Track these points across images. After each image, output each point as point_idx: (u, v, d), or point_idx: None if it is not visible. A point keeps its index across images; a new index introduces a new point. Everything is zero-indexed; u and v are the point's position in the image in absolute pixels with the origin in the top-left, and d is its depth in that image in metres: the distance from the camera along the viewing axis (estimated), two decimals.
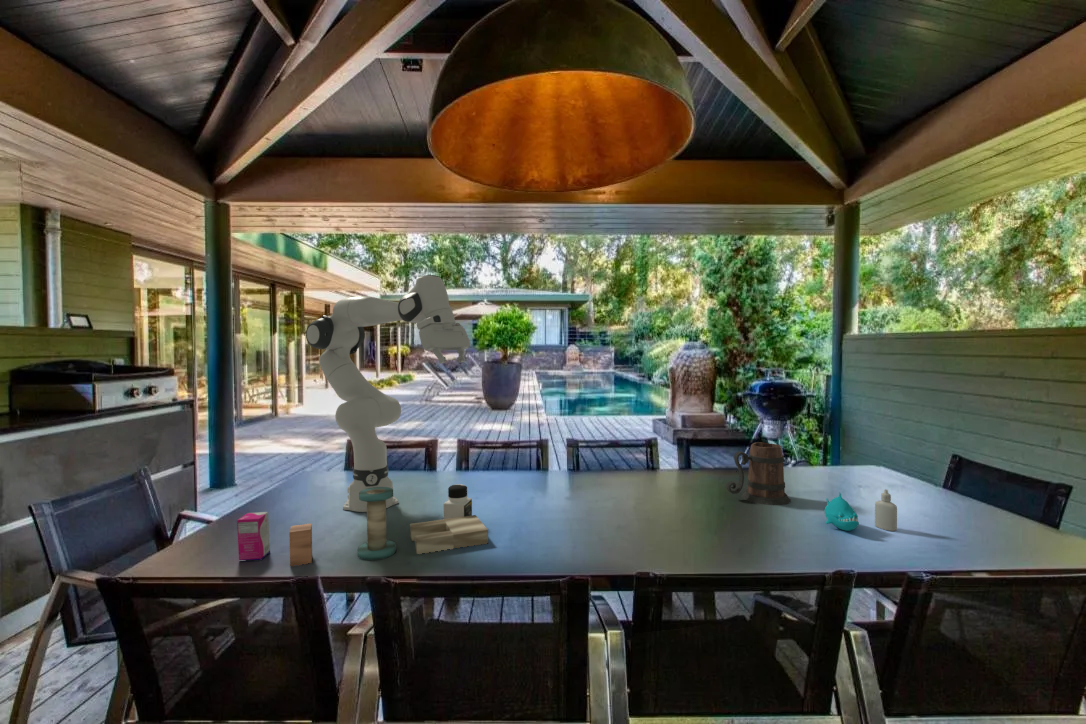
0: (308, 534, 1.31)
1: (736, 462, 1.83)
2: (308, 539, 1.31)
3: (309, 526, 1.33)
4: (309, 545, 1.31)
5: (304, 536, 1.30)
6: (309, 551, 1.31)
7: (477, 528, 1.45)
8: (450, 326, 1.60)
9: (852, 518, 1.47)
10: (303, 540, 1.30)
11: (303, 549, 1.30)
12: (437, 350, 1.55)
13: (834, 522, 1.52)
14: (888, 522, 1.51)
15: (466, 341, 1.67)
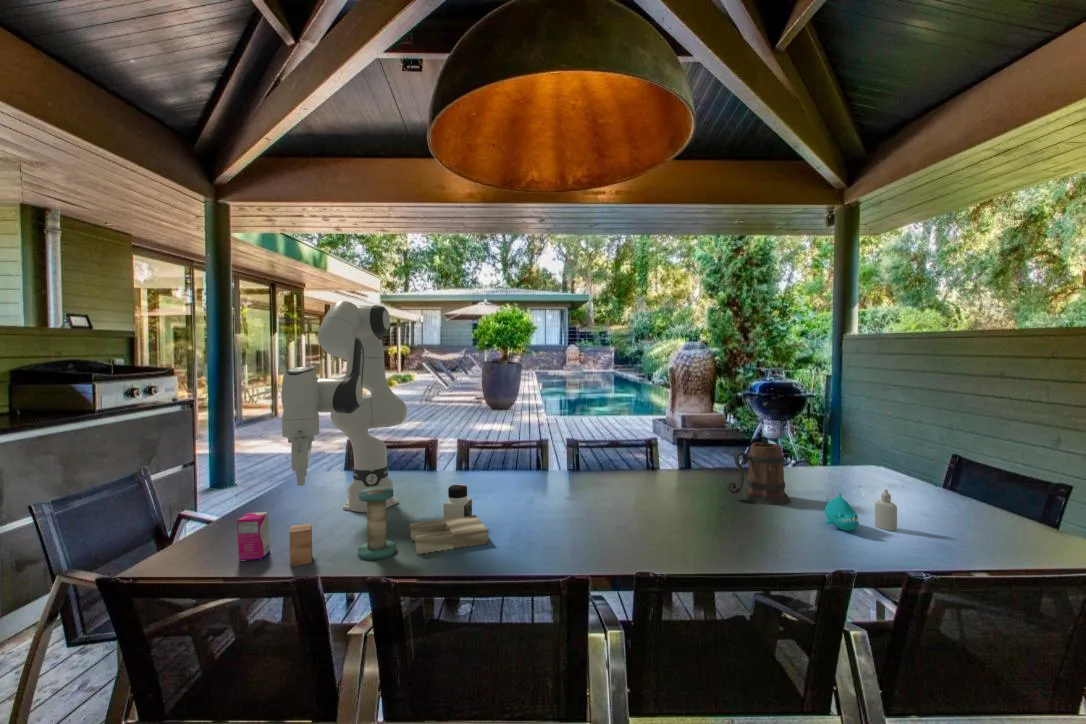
0: (308, 534, 1.31)
1: (736, 462, 1.83)
2: (308, 539, 1.31)
3: (309, 526, 1.33)
4: (309, 545, 1.31)
5: (304, 536, 1.30)
6: (309, 551, 1.31)
7: (477, 528, 1.45)
8: None
9: (852, 518, 1.47)
10: (303, 540, 1.30)
11: (303, 549, 1.30)
12: None
13: (834, 522, 1.52)
14: (888, 522, 1.51)
15: None
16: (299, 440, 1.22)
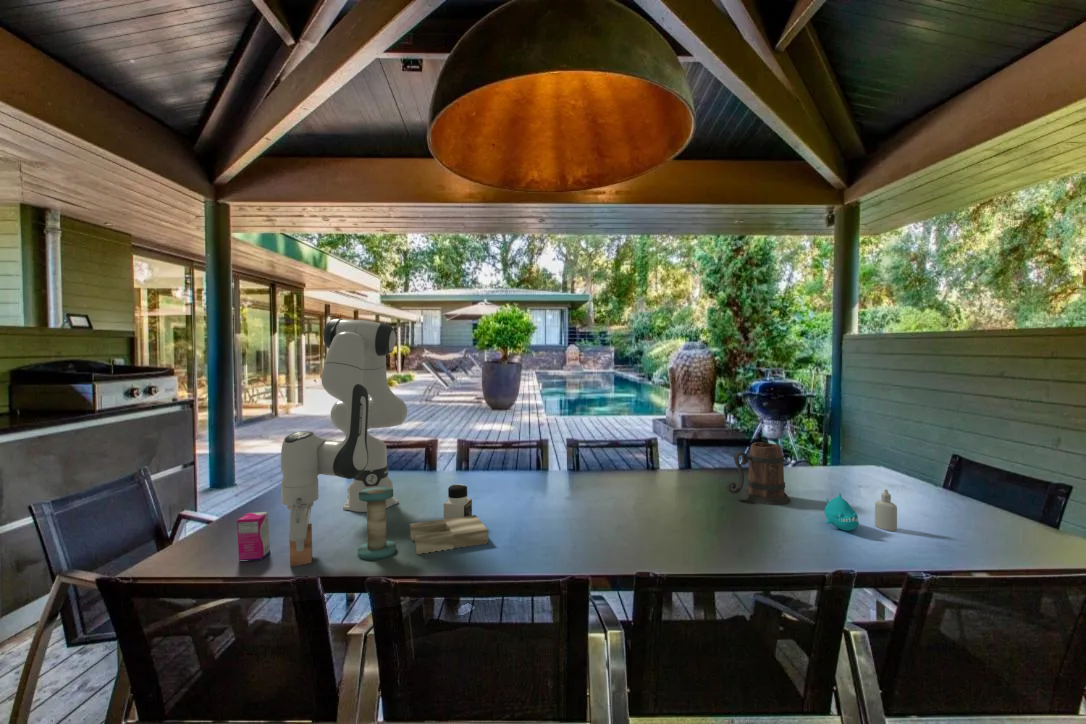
0: (308, 534, 1.31)
1: (736, 462, 1.83)
2: (308, 539, 1.31)
3: (309, 526, 1.33)
4: (309, 545, 1.31)
5: None
6: (309, 551, 1.31)
7: (477, 528, 1.45)
8: (287, 505, 1.31)
9: (852, 518, 1.47)
10: None
11: None
12: None
13: (834, 522, 1.52)
14: (888, 522, 1.51)
15: None
16: (297, 511, 1.23)
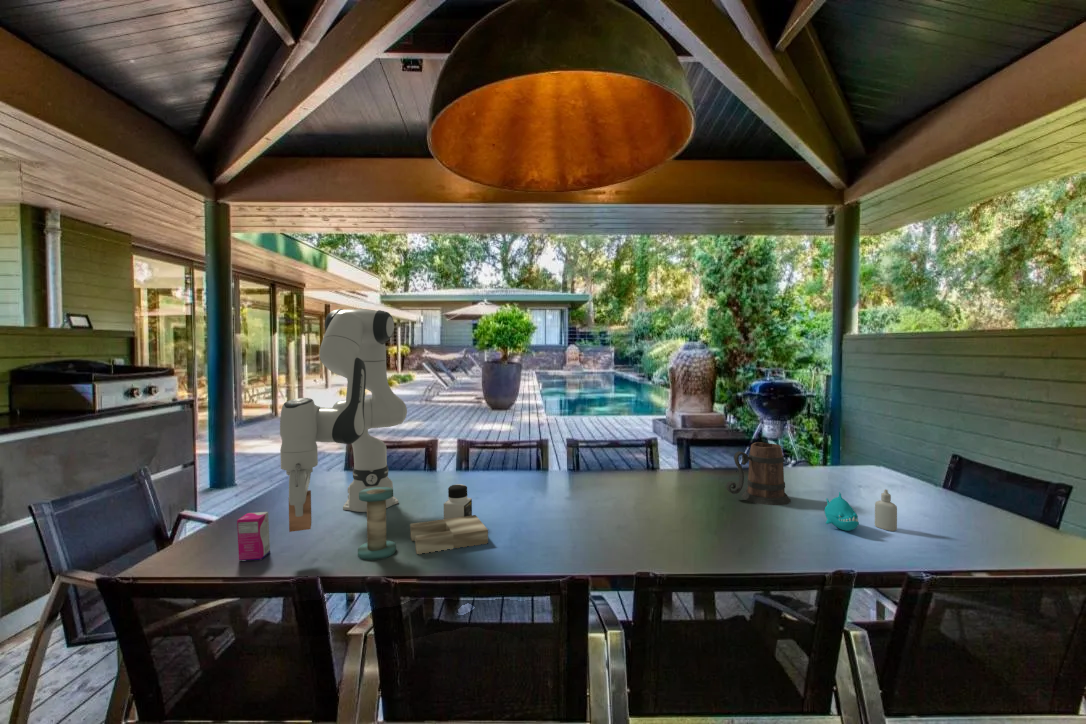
0: (307, 500, 1.31)
1: (736, 462, 1.83)
2: (308, 505, 1.31)
3: (308, 492, 1.33)
4: (308, 511, 1.31)
5: None
6: (308, 517, 1.31)
7: (477, 528, 1.45)
8: (286, 471, 1.31)
9: (852, 518, 1.47)
10: None
11: None
12: None
13: (834, 522, 1.52)
14: (888, 522, 1.51)
15: None
16: (296, 475, 1.23)
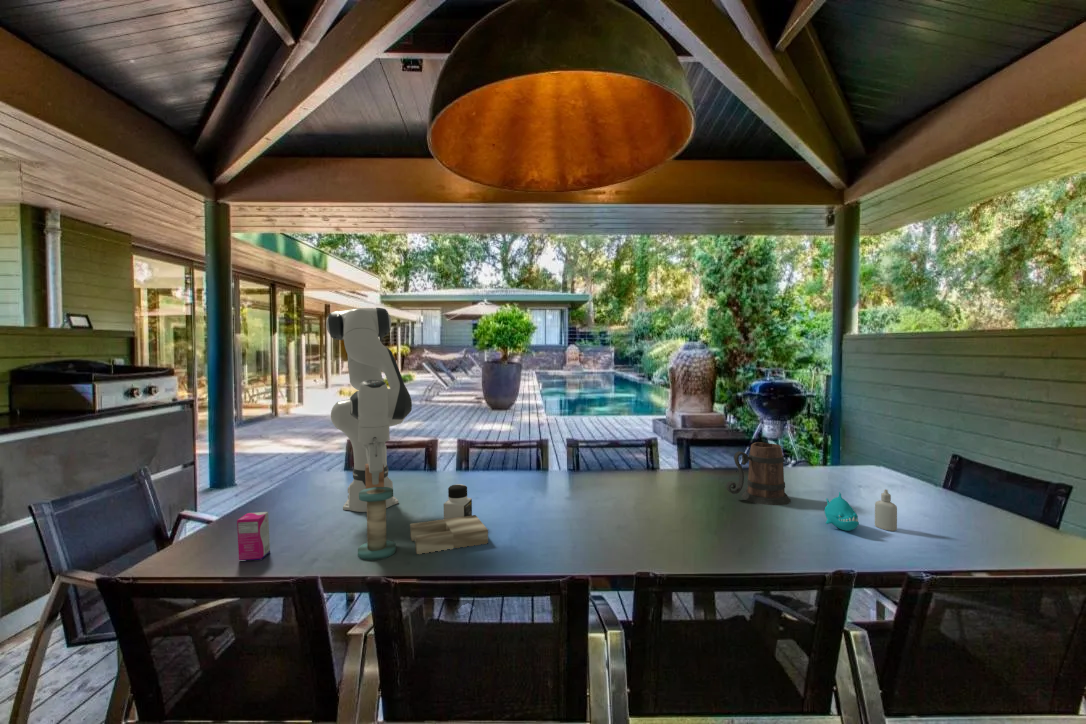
0: None
1: (736, 462, 1.83)
2: (382, 475, 1.47)
3: None
4: (382, 480, 1.47)
5: None
6: (382, 485, 1.47)
7: (477, 528, 1.45)
8: (363, 444, 1.47)
9: (852, 518, 1.47)
10: None
11: None
12: None
13: (834, 522, 1.52)
14: (888, 522, 1.51)
15: None
16: (376, 446, 1.39)
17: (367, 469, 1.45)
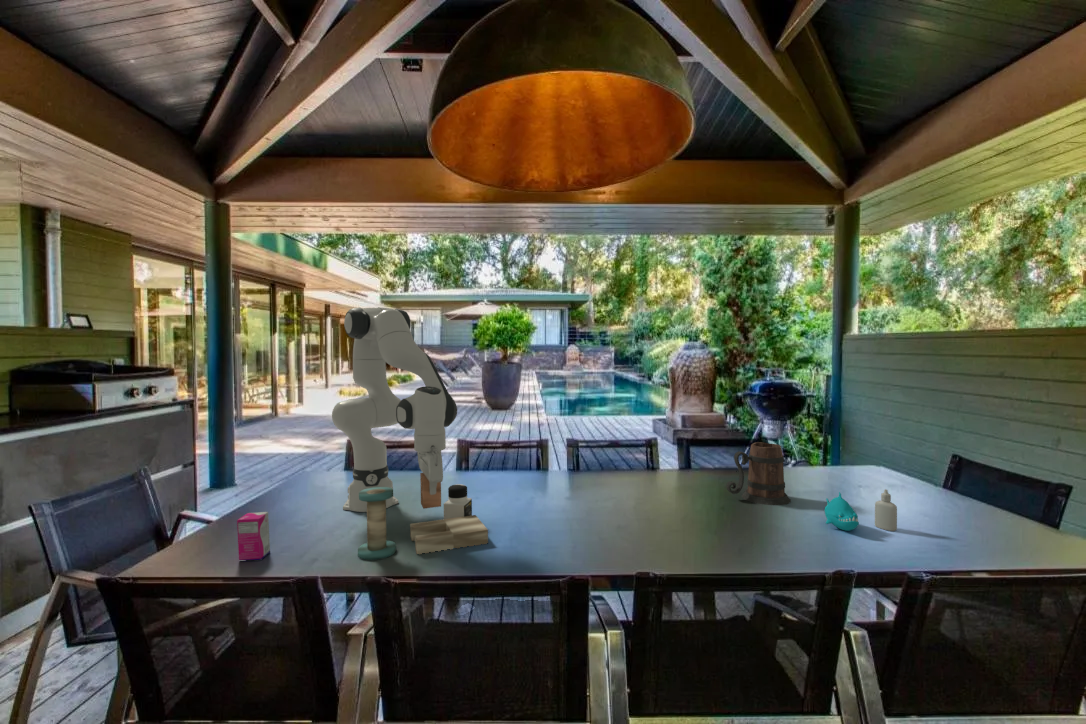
0: None
1: (736, 462, 1.83)
2: (439, 484, 1.43)
3: None
4: (439, 489, 1.43)
5: None
6: (439, 495, 1.43)
7: (477, 528, 1.45)
8: (419, 453, 1.43)
9: (852, 518, 1.47)
10: None
11: None
12: None
13: (834, 522, 1.52)
14: (888, 522, 1.51)
15: (428, 475, 1.36)
16: (436, 455, 1.34)
17: (424, 478, 1.41)
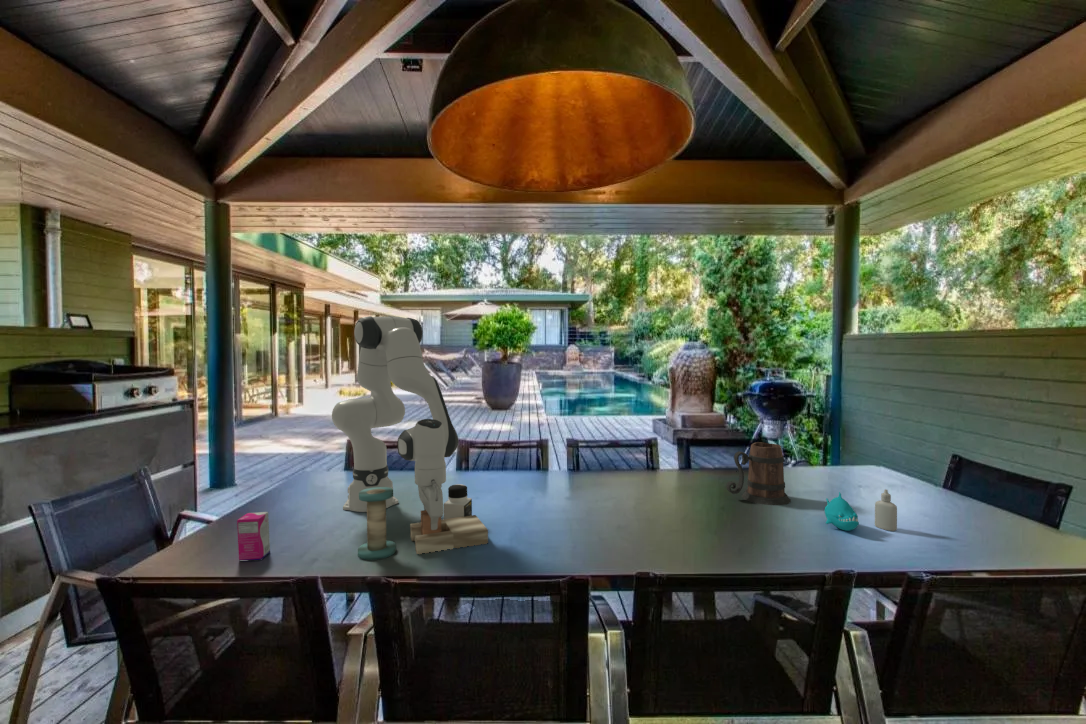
0: (439, 518, 1.43)
1: (736, 462, 1.83)
2: (439, 523, 1.43)
3: None
4: (440, 528, 1.43)
5: None
6: None
7: (477, 528, 1.45)
8: (419, 486, 1.43)
9: (852, 518, 1.47)
10: None
11: (434, 532, 1.42)
12: None
13: (834, 522, 1.52)
14: (888, 522, 1.51)
15: (429, 510, 1.36)
16: (437, 490, 1.35)
17: (425, 517, 1.41)
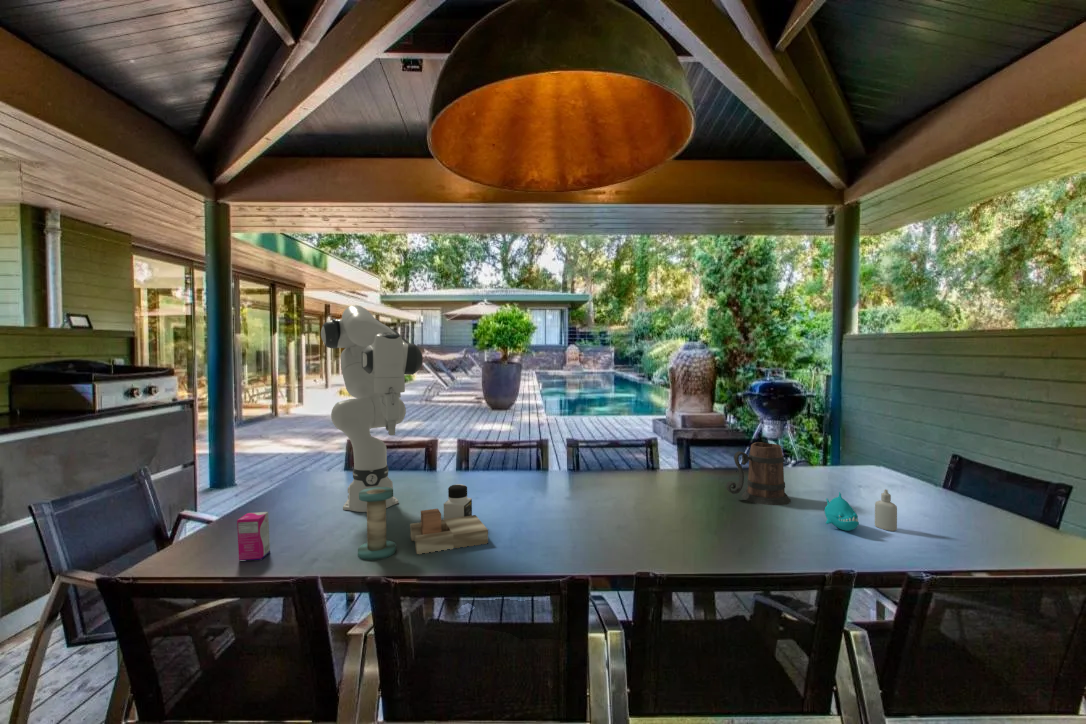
0: (439, 518, 1.43)
1: (736, 462, 1.83)
2: (439, 523, 1.43)
3: (437, 511, 1.45)
4: (440, 528, 1.43)
5: (435, 519, 1.43)
6: None
7: (477, 528, 1.45)
8: (378, 396, 1.49)
9: (852, 518, 1.47)
10: (435, 523, 1.42)
11: (434, 532, 1.42)
12: None
13: (834, 522, 1.52)
14: (888, 522, 1.51)
15: None
16: (393, 394, 1.40)
17: (425, 517, 1.41)
